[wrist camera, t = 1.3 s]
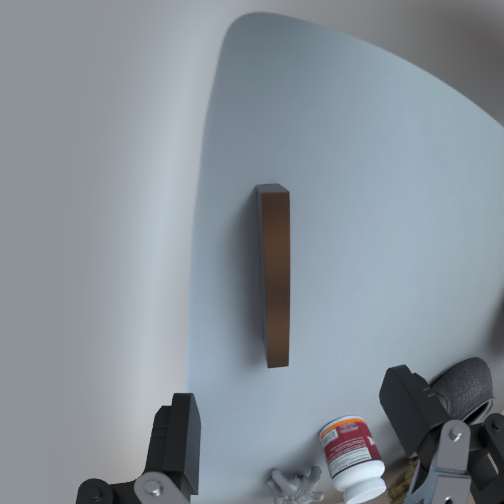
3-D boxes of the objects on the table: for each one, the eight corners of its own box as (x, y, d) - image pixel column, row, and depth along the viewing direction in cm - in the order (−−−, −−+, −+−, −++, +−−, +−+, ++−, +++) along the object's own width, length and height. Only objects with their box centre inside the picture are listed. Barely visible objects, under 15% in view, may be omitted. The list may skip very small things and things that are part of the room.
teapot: (418, 364, 27) (459, 424, 18) (491, 345, 29) (529, 385, 20) (368, 449, 34) (387, 498, 25) (440, 427, 35) (462, 465, 26)
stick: (255, 184, 19) (261, 192, 16) (279, 183, 19) (289, 191, 16) (263, 341, 24) (267, 368, 21) (281, 339, 24) (288, 366, 21)
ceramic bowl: (432, 468, 45) (445, 495, 36) (351, 494, 43) (362, 528, 34) (499, 388, 35) (523, 418, 26) (416, 419, 33) (443, 466, 23)
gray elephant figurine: (320, 456, 33) (331, 498, 26) (317, 483, 37) (325, 517, 30) (256, 467, 33) (261, 511, 26) (265, 492, 37) (269, 526, 30)
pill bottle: (362, 432, 31) (387, 495, 21) (318, 444, 31) (337, 511, 21) (366, 407, 29) (397, 478, 19) (317, 422, 29) (340, 499, 19)
